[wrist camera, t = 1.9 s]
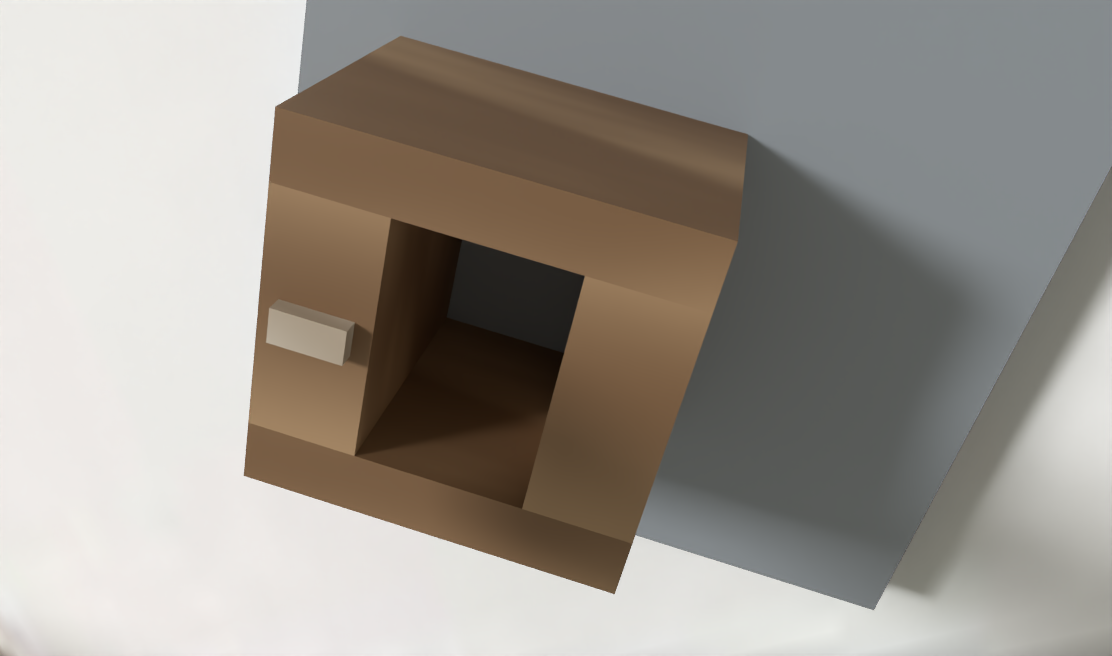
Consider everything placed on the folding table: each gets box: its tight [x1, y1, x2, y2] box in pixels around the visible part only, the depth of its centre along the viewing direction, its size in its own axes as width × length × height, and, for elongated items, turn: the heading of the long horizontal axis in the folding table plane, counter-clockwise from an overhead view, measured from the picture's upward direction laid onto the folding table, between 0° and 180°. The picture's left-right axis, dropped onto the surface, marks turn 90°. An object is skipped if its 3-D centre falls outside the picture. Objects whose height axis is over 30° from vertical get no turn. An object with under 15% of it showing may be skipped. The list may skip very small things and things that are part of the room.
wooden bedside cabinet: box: [244, 36, 748, 594], centre depth 17 cm, size 6×6×5 cm
